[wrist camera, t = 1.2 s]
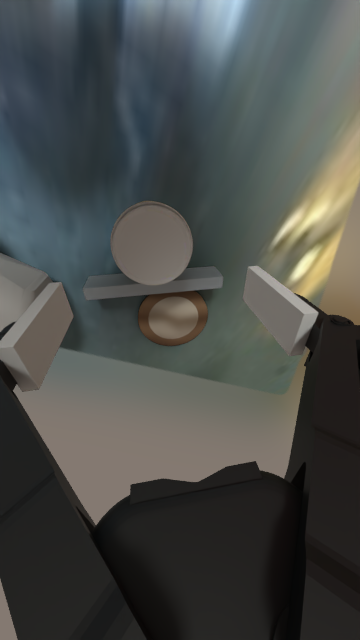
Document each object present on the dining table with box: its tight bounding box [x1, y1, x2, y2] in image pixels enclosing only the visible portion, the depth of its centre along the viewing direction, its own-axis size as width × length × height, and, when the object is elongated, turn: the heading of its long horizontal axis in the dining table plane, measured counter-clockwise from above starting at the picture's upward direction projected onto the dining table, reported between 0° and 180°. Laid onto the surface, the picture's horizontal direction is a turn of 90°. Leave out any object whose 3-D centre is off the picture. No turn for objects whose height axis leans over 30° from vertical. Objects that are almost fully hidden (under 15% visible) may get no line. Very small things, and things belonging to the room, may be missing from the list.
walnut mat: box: [138, 290, 208, 346], centre depth 43 cm, size 14×14×1 cm
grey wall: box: [83, 266, 223, 300], centre depth 36 cm, size 2×22×5 cm, turn 92°
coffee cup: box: [111, 201, 193, 285], centre depth 29 cm, size 9×9×12 cm
